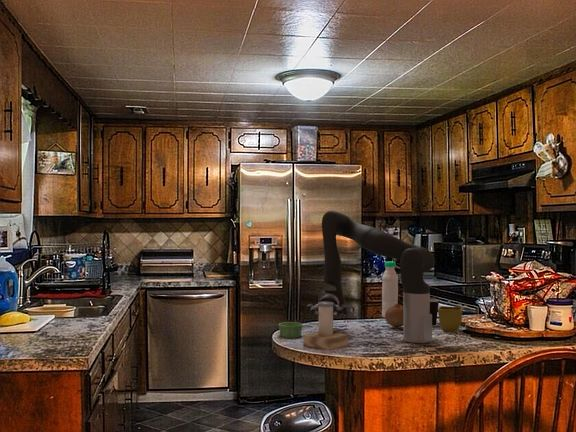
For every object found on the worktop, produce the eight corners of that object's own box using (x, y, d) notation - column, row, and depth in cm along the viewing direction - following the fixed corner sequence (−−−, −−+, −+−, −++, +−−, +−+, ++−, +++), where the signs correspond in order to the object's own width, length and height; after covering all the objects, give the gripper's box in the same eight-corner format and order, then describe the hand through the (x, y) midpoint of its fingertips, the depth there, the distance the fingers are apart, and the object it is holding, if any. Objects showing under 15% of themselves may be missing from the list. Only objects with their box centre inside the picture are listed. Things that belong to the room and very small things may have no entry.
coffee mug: (439, 326, 226) (439, 302, 226) (418, 325, 228) (418, 301, 228) (437, 321, 237) (437, 298, 237) (417, 320, 239) (417, 297, 239)
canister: (336, 334, 191) (336, 302, 191) (326, 336, 187) (326, 304, 187) (324, 332, 194) (324, 301, 194) (315, 334, 190) (315, 302, 191)
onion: (411, 330, 217) (411, 304, 217) (387, 330, 217) (387, 304, 217) (406, 326, 227) (406, 301, 227) (383, 325, 227) (383, 301, 227)
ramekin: (274, 337, 204) (274, 325, 204) (284, 332, 212) (284, 321, 212) (296, 339, 200) (296, 327, 200) (306, 334, 208) (306, 323, 208)
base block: (348, 344, 191) (348, 334, 191) (328, 350, 183) (328, 339, 183) (323, 340, 198) (323, 330, 198) (303, 344, 190) (303, 334, 190)
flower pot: (437, 331, 215) (437, 308, 215) (440, 328, 223) (440, 305, 223) (461, 333, 211) (461, 310, 211) (462, 329, 219) (462, 306, 220)
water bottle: (399, 316, 249) (399, 261, 250) (395, 319, 243) (395, 262, 243) (384, 315, 252) (384, 260, 253) (380, 318, 246) (380, 261, 246)
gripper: (309, 294, 206) (304, 300, 190) (348, 295, 204) (346, 301, 188) (309, 315, 206) (304, 322, 190) (348, 316, 204) (346, 323, 188)
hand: (325, 312), depth 189 cm, fingers open, 8 cm apart
